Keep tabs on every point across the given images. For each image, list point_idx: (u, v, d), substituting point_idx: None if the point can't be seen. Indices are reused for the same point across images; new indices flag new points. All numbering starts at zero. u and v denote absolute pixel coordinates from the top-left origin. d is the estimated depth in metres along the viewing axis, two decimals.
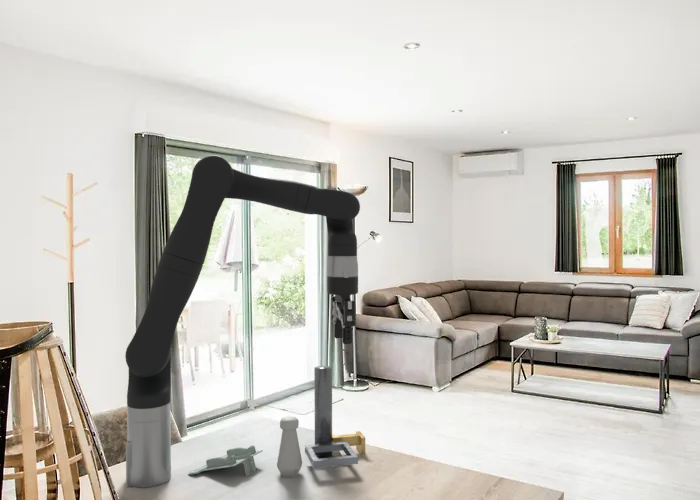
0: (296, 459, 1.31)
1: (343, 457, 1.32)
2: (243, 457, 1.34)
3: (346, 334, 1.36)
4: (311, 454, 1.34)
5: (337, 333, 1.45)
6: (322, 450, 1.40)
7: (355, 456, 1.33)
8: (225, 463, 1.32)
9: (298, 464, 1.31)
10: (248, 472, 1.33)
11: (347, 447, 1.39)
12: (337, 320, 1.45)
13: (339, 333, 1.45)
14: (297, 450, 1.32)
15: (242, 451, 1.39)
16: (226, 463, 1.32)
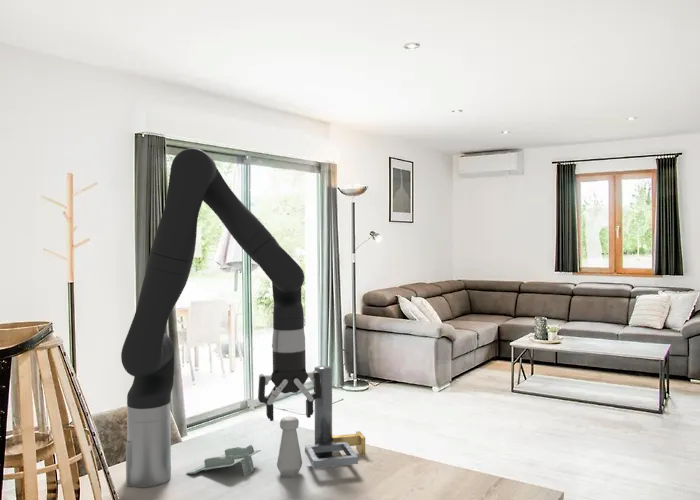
0: (296, 459, 1.31)
1: (343, 457, 1.32)
2: (241, 457, 1.35)
3: (312, 406, 1.34)
4: (311, 454, 1.34)
5: None
6: (322, 450, 1.40)
7: (355, 456, 1.33)
8: (223, 462, 1.32)
9: (298, 464, 1.31)
10: (246, 471, 1.33)
11: (347, 447, 1.39)
12: None
13: None
14: (297, 450, 1.32)
15: (240, 451, 1.39)
16: (224, 462, 1.32)
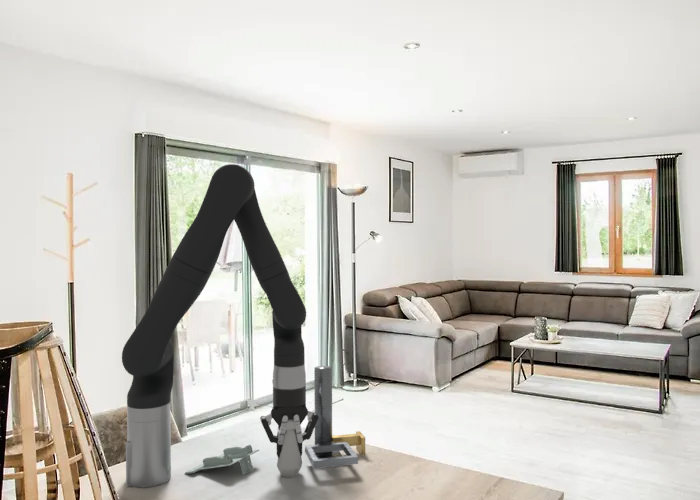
0: (296, 459, 1.31)
1: (343, 457, 1.32)
2: (240, 456, 1.35)
3: None
4: (311, 454, 1.34)
5: None
6: (322, 450, 1.40)
7: (355, 456, 1.33)
8: (222, 462, 1.33)
9: (298, 464, 1.31)
10: (244, 471, 1.33)
11: (347, 447, 1.39)
12: None
13: None
14: (297, 450, 1.32)
15: (239, 450, 1.39)
16: (223, 462, 1.32)
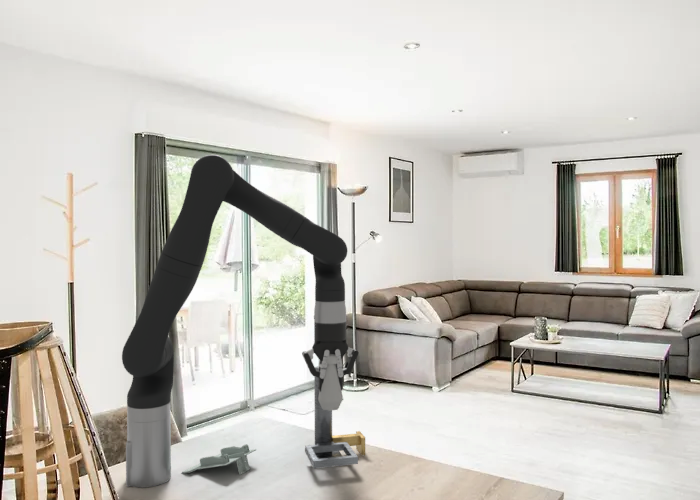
0: (337, 393, 1.34)
1: (343, 457, 1.32)
2: (236, 456, 1.35)
3: None
4: (311, 454, 1.34)
5: None
6: (322, 450, 1.40)
7: (355, 456, 1.33)
8: (218, 462, 1.33)
9: (339, 398, 1.34)
10: (241, 471, 1.33)
11: (347, 447, 1.39)
12: None
13: None
14: (338, 384, 1.35)
15: (236, 450, 1.40)
16: (219, 462, 1.33)
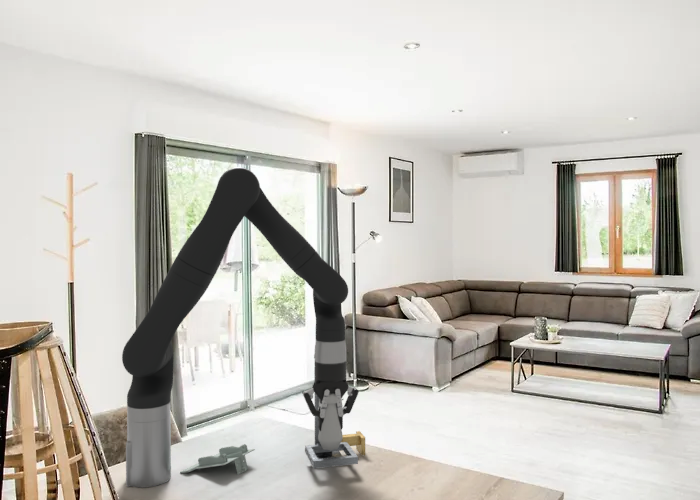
0: (337, 432, 1.34)
1: (343, 457, 1.32)
2: (235, 456, 1.35)
3: None
4: (311, 454, 1.34)
5: None
6: (322, 450, 1.40)
7: (355, 456, 1.33)
8: (216, 462, 1.33)
9: (339, 437, 1.34)
10: (239, 471, 1.33)
11: (347, 447, 1.39)
12: None
13: None
14: (338, 423, 1.35)
15: (234, 450, 1.40)
16: (217, 462, 1.33)
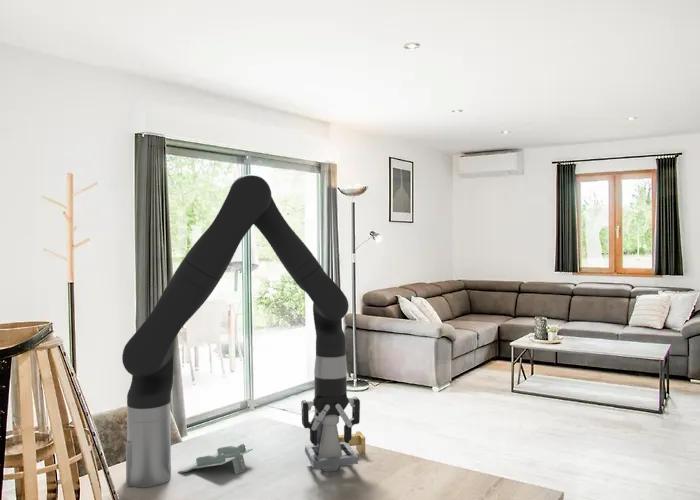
0: (337, 454, 1.35)
1: (343, 457, 1.32)
2: (232, 455, 1.35)
3: None
4: (311, 454, 1.34)
5: (316, 440, 1.35)
6: None
7: (355, 456, 1.33)
8: (214, 461, 1.33)
9: None
10: (237, 470, 1.34)
11: (347, 447, 1.39)
12: None
13: None
14: (338, 445, 1.35)
15: (232, 450, 1.40)
16: (215, 461, 1.33)
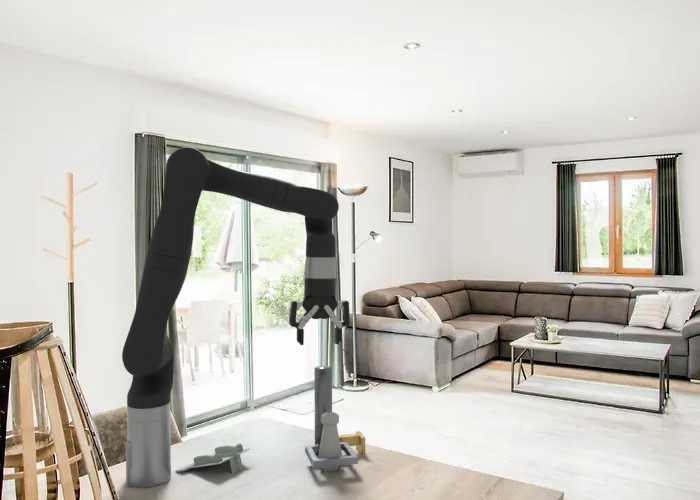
0: (337, 454, 1.35)
1: (343, 457, 1.32)
2: (230, 455, 1.36)
3: None
4: (311, 454, 1.34)
5: None
6: None
7: (355, 456, 1.33)
8: (211, 461, 1.33)
9: None
10: (234, 470, 1.34)
11: (347, 447, 1.39)
12: None
13: None
14: (338, 445, 1.35)
15: (230, 449, 1.40)
16: (212, 461, 1.33)
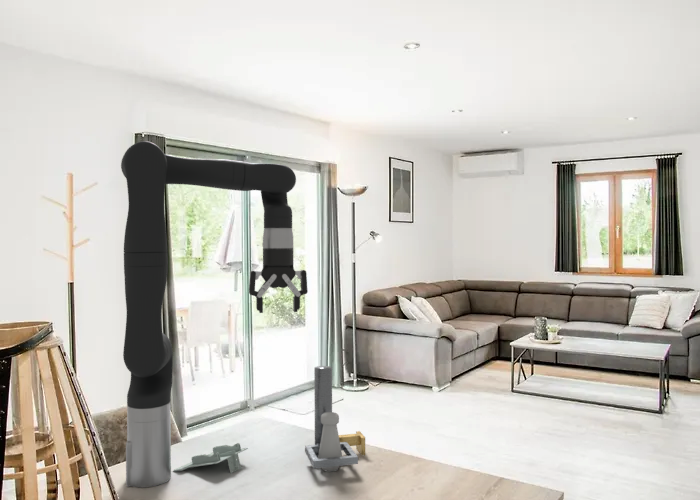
0: (337, 454, 1.35)
1: (343, 457, 1.32)
2: (228, 454, 1.36)
3: (299, 302, 1.44)
4: (311, 454, 1.34)
5: (262, 307, 1.42)
6: None
7: (355, 456, 1.33)
8: (209, 460, 1.34)
9: None
10: (232, 469, 1.34)
11: (347, 447, 1.39)
12: None
13: None
14: (338, 445, 1.35)
15: (228, 449, 1.41)
16: (210, 460, 1.34)
